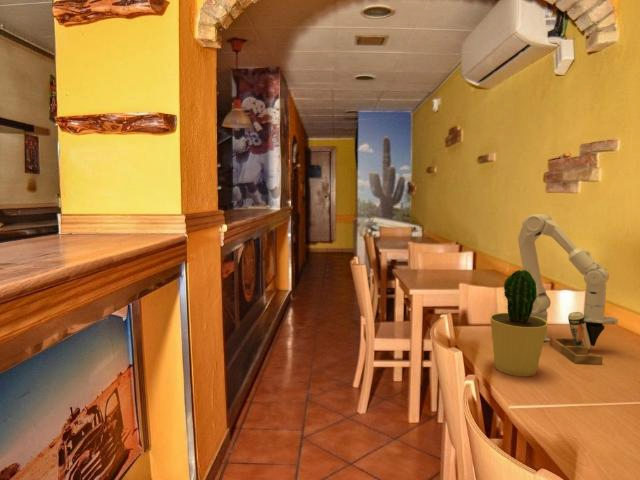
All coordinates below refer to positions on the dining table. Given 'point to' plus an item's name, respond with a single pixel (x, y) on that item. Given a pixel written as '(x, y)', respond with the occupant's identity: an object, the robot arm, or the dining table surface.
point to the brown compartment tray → (574, 351)
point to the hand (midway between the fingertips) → (591, 344)
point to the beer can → (579, 329)
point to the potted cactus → (518, 328)
